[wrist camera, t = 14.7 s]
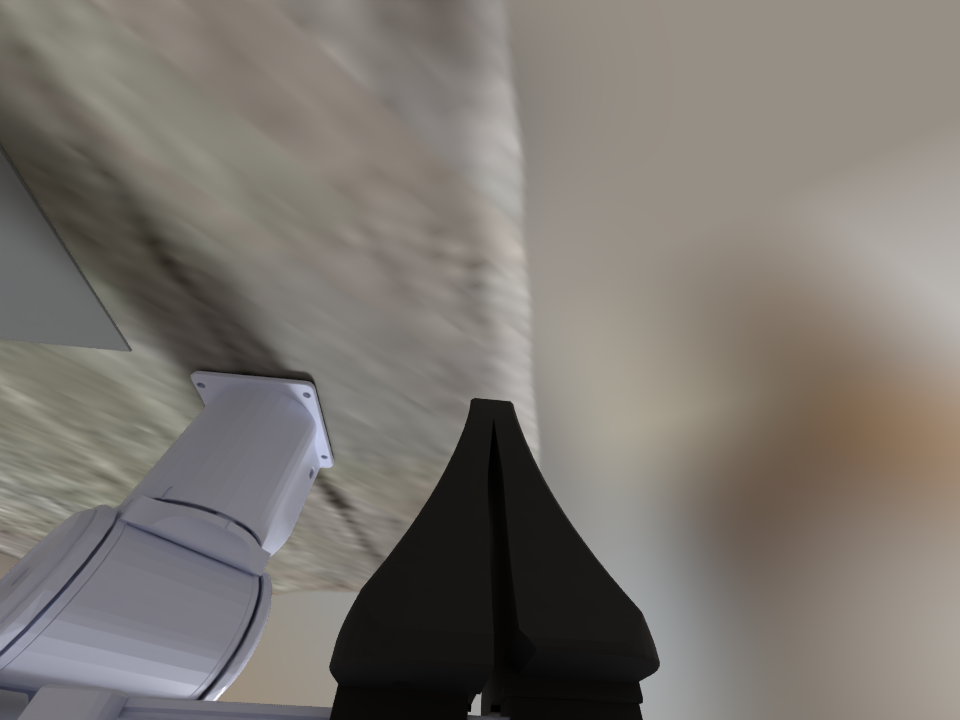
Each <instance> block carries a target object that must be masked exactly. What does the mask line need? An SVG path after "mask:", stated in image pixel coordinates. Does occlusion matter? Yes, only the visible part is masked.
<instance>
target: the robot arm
mask: <svg viewBox="0 0 960 720" xmlns="http://www.w3.org/2000/svg"><path fill="white" fill-rule="evenodd" d="M190 377H191V380H192V382H193V383H194V385H195V387H196V389H197V391H198V393H199V394H200V396H201V398H202V400H203V402H204V404H205V405H206V406H205V407H204V409H203V410H202V411H201V412H200V413H199V414H198V416H197V417H196V418H195V419H194V420H193V421H192V423H191V424H190V425H189V426H188V427H187V428H186V430H185V431H184V432H183V433H182V434H181V435H180V436H179V438H178V439H177V440H176V441H175V442H174V443H173V445H172V446H171V447H170V448H169V449H168V450H167V452H166V453H165V454H164V455H163V456H162V457H161V458H160V460H159V461H158V462H157V463H156V464H155V465H154V467H153V468H152V469H151V470H150V471H149V472H148V474H147V475H146V476H145V477H144V478H143V479H142V480H141V482H140V483H139V484H138V485H137V486H136V487H135V489H134V490H133V491H132V492H131V493H130V494H129V496H128V497H127V498H126V499H125V500H124V501H123V503H122V504H121V505H119V506H117V507H116V508H114V509H113V508H112V507H110V506H108V505H99V506H97V507H94V508H93V509H88V510H84V511H80V512H77V513H75V514H74V515H72V516H71V517H69V518H68V519H66V520H65V521H64V522H62V523H61V524H60V525H59V526H58V527H56V528H55V529H54V530H53V531H52V532H50V533H49V534H48V535H47V536H46V537H45V538H44V539H42V540H41V541H40V542H39V543H38V544H37V545H36V546H35V547H34V548H33V549H32V550H31V551H29V552H28V553H27V554H26V555H25V556H24V557H23V558H22V559H21V560H20V561H19V562H18V563H17V564H16V565H15V566H14V567H13V568H12V569H11V570H10V571H9V572H8V573H7V574H6V575H5V576H4V577H3V578H2V579H1V580H0V720H643V719H642V715H641V710H640V706H639V704H641V703H643V697H642V692H641V688H640V684H639V681H641V680H643V679H645V678H646V677H648V676H650V675H652V674H653V673H655V672H656V671H657V670H658V668H659V666H660V662H659V658H658V654H657V651H656V647H655V644H654V641H653V638H652V636H651V634H650V631H649V628H648V626H647V623H646V621H645V618H644V616H643V614H642V612H641V611H640V610H639V608H638V607H637V606H636V605H635V604H634V603H633V602H632V601H631V599H630V598H629V597H628V596H627V595H626V594H625V592H623V590H622V589H621V588H620V587H619V585H618V584H617V583H616V582H615V581H614V579H613V578H612V577H611V576H610V575H609V573H608V572H607V571H606V570H605V568H604V567H603V566H602V565H601V564H600V562H599V561H598V560H597V558H596V557H595V556H594V554H593V553H592V552H591V550H590V549H589V548H588V546H587V545H586V543H585V542H584V541H583V539H582V538H581V537H580V535H579V534H578V533H577V531H576V530H575V528H574V527H573V526H572V524H571V523H570V521H569V520H568V518H567V516H566V515H565V514H564V512H563V510H562V509H561V507H560V506H559V504H558V502H557V501H556V499H555V498H554V496H553V494H552V492H551V491H550V489H549V487H548V485H547V483H546V482H545V480H544V478H543V476H542V474H541V472H540V470H539V468H538V466H537V464H536V462H535V460H534V458H533V456H532V454H531V451H530V449H529V447H528V445H527V442H526V440H525V438H524V435H523V433H522V430H521V427H520V425H519V422H518V419H517V416H516V413H515V410H514V406H513V404H512V403H511V401H500V400H490V399H479V398H474V399H472V400H471V403H470V410H469V414H468V418H467V421H466V424H465V427H464V430H463V432H462V435H461V437H460V440H459V442H458V444H457V447H456V449H455V451H454V453H453V455H452V457H451V459H450V461H449V463H448V465H447V467H446V469H445V471H444V473H443V475H442V477H441V479H440V481H439V482H438V484H437V486H436V487H435V489H434V491H433V493H432V494H431V496H430V498H429V499H428V501H427V502H426V504H425V505H424V507H423V508H422V510H421V512H420V513H419V515H418V516H417V518H416V519H415V521H414V522H413V524H412V525H411V526H410V528H409V529H408V531H407V532H406V533H405V535H404V536H403V537H402V539H401V540H400V541H399V543H398V544H397V545H396V547H395V548H394V549H393V551H392V552H391V553H390V555H389V556H388V557H387V559H386V560H385V561H384V562H383V563H382V565H381V566H380V567H379V568H378V570H377V571H376V572H375V573H374V574H373V576H372V577H371V578H370V579H369V580H368V582H367V583H366V584H365V585H364V587H363V588H362V589H361V591H360V593H359V595H358V596H357V598H356V600H355V602H354V603H353V605H352V607H351V609H350V611H349V613H348V615H347V617H346V619H345V621H344V623H343V625H342V627H341V630H340V632H339V635H338V638H337V640H336V644H335V647H334V651H333V655H332V659H331V662H330V666H329V668H330V672H331V674H332V675H333V677H334V678H335V680H336V681H337V683H338V687H337V692H336V695H335V700H334V703H333V707H332V708H329V707H312V706H294V705H275V704H274V705H273V704H258V703H257V704H256V703H239V702H222V701H221V702H220V701H216V700H217V699H218V698H219V697H220V696H221V694H222V693H223V692H224V691H225V690H226V689H227V688H228V687H229V686H230V685H231V684H232V683H233V682H234V680H235V679H236V678H237V676H238V675H239V674H240V673H241V671H242V670H243V668H244V667H245V665H246V664H247V662H248V661H249V659H250V657H251V656H252V654H253V652H254V650H255V648H256V646H257V645H258V642H259V640H260V638H261V636H262V634H263V631H264V628H265V626H266V623H267V620H268V616H269V612H270V607H271V596H272V583H271V579H270V577H269V575H268V574H267V573H266V572H264V569H265V567H266V565H267V562H268V560H269V558H270V557H271V556H272V555H273V554H274V553H275V552H276V551H277V550H279V549H280V548H281V546H282V545H283V544H284V543H285V542H286V540H287V539H288V537H289V536H290V534H291V532H292V530H293V528H294V526H295V523H296V521H297V519H298V516H299V514H300V512H301V510H302V507H303V505H304V503H305V500H306V498H307V496H308V494H309V491H310V489H311V487H312V484H313V482H314V480H315V478H316V475H317V473H318V471H319V468H320V467H325V468H330V467H332V466H333V464H334V460H333V456H332V452H331V448H330V444H329V440H328V436H327V432H326V428H325V425H324V421H323V417H322V413H321V409H320V405H319V401H318V397H317V393H316V390H315V386H314V385H313V384H312V383H311V382H309V381H302V380H291V379H280V378H270V377H259V376H248V375H238V374H227V373H216V372H206V371H195V372H194V373H193V374H192V375H191V376H190ZM308 393H309V394H308ZM481 692H482V697H481V716H473V715H468V712H471V704H472V702H473V700H474V698H475V696H476V694H481Z"/></svg>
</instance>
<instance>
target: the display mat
mask: <svg viewBox="0 0 960 720" xmlns="http://www.w3.org/2000/svg"><path fill="white" fill-rule="evenodd" d="M0 339H3V340H13V341H24V342H34V343H45V344H55V345H66V346H76V347H87V348H97V349H108V350H118V351H129V352H130V351H132V349H131V348H130V346H129V345H128V343H127V341H126V340H125V338H124V337H123V335H122V334H121V332H120V331H119V329H118V327H117V326H116V324H115V323H114V321H113V320H112V318H111V316H110V315H109V313H108V312H107V310H106V309H105V307H104V306H103V304H102V302H101V301H100V299H99V298H98V296H97V295H96V293H95V292H94V290H93V288H92V287H91V285H90V284H89V282H88V281H87V279H86V277H85V276H84V274H83V273H82V271H81V270H80V268H79V267H78V265H77V263H76V262H75V260H74V259H73V257H72V256H71V254H70V253H69V251H68V249H67V248H66V246H65V245H64V243H63V242H62V240H61V238H60V237H59V235H58V234H57V232H56V231H55V229H54V228H53V226H52V224H51V223H50V221H49V220H48V218H47V217H46V215H45V214H44V212H43V210H42V209H41V207H40V206H39V204H38V203H37V201H36V199H35V198H34V196H33V195H32V193H31V192H30V190H29V189H28V187H27V185H26V184H25V182H24V181H23V179H22V178H21V176H20V175H19V173H18V171H17V170H16V168H15V167H14V165H13V164H12V162H11V160H10V159H9V157H8V156H7V154H6V153H5V151H4V150H3V148H2V146H1V145H0Z"/></svg>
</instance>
